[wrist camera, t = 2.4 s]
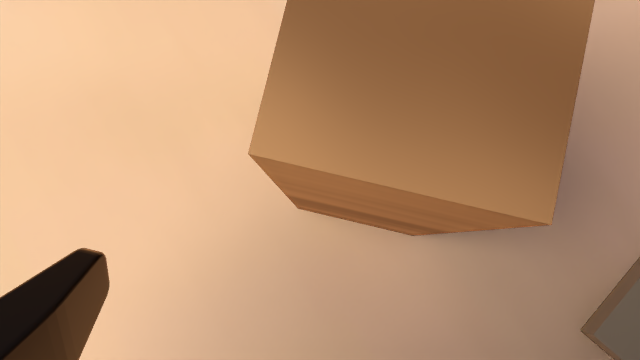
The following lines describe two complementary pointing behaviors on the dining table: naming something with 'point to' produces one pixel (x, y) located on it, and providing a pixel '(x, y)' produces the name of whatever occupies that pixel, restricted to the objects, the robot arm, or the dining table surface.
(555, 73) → the walnut post
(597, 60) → the dining table surface
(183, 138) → the dining table surface
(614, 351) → the grey box
